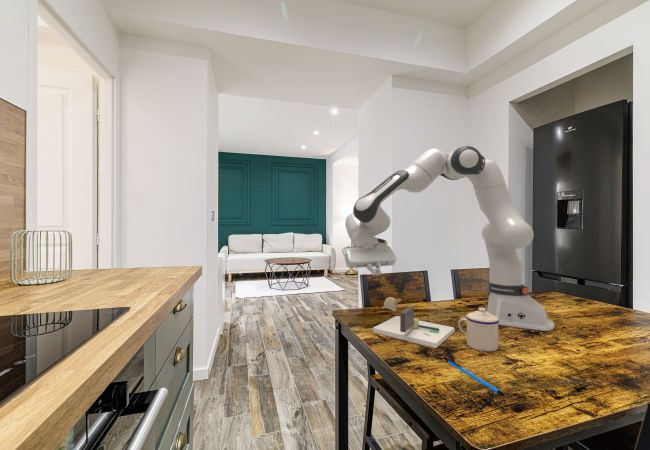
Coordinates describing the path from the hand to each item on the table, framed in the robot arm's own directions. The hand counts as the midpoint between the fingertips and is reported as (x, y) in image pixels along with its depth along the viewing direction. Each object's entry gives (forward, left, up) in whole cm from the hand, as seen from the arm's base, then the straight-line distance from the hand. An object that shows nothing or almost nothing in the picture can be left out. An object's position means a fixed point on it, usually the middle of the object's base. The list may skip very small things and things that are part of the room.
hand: (377, 274), depth 113 cm
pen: (-37, +17, -20) cm, 45 cm away
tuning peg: (-16, +1, -17) cm, 24 cm away
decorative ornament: (+7, -24, -19) cm, 32 cm away
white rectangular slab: (-13, -3, -19) cm, 23 cm away
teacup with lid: (-33, -5, -19) cm, 38 cm away
